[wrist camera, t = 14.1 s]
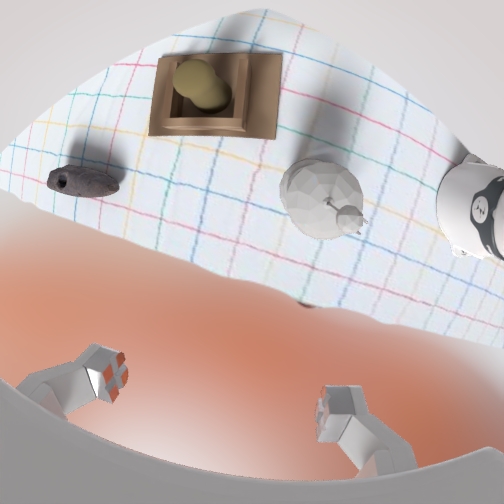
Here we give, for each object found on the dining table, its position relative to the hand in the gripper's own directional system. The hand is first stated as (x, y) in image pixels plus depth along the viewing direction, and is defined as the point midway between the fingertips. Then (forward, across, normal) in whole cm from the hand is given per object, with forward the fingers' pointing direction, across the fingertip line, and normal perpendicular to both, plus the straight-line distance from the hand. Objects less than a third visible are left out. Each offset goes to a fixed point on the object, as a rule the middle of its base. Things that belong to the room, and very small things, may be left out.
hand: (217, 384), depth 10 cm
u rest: (+34, +10, -19) cm, 40 cm away
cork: (+33, +10, -19) cm, 39 cm away
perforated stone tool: (+34, +32, -5) cm, 47 cm away
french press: (+34, -7, -5) cm, 35 cm away
